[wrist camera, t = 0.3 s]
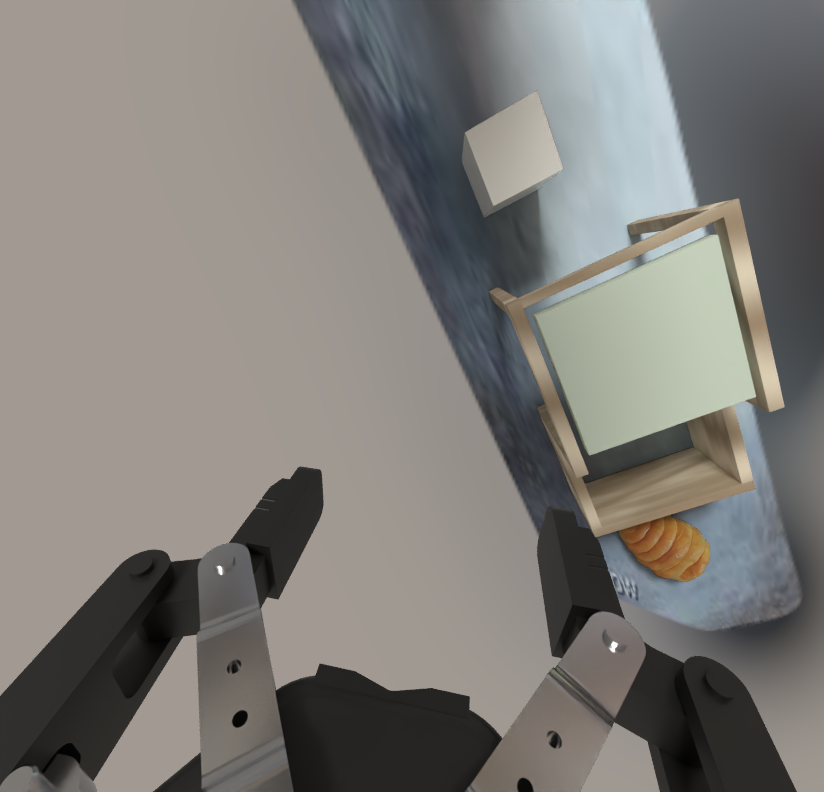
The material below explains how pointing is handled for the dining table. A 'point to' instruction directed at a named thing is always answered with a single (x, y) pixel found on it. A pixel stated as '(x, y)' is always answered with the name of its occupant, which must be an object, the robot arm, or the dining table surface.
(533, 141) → the white rectangular block
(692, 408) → the trapdoor
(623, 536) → the pastry
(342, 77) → the dining table surface
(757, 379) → the trapdoor frame
